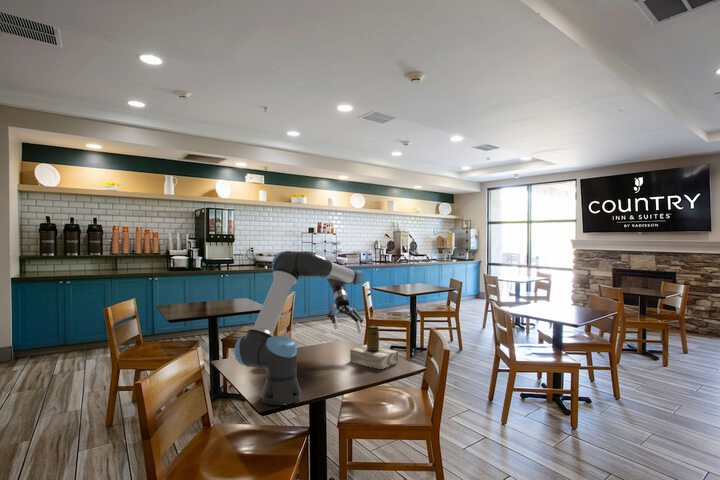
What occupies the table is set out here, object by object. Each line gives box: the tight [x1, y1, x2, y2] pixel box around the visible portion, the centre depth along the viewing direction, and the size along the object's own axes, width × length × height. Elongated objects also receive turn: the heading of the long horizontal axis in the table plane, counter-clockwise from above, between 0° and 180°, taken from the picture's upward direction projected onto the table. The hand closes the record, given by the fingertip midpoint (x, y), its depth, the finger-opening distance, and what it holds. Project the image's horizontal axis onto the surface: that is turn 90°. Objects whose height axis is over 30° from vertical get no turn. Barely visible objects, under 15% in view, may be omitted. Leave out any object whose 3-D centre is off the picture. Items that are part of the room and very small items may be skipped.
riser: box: [349, 343, 399, 370], centre depth 196 cm, size 14×20×6 cm
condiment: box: [363, 325, 384, 353], centre depth 196 cm, size 7×8×12 cm
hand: (348, 329), depth 195 cm, fingers open, 13 cm apart
